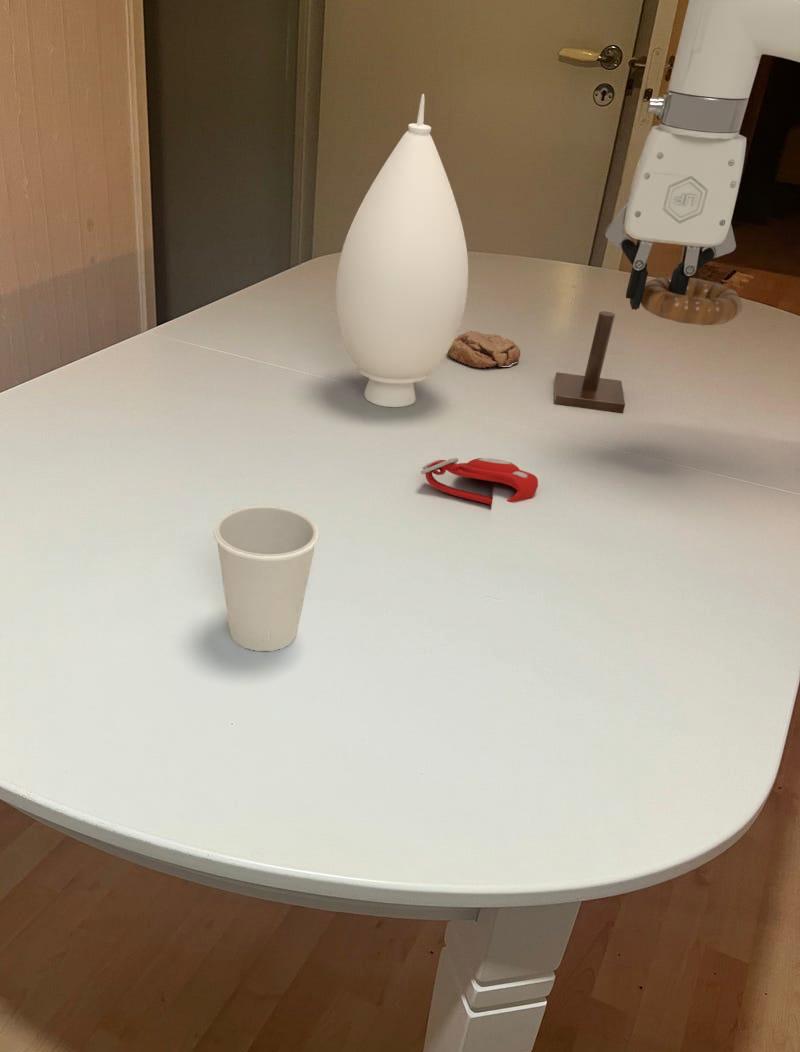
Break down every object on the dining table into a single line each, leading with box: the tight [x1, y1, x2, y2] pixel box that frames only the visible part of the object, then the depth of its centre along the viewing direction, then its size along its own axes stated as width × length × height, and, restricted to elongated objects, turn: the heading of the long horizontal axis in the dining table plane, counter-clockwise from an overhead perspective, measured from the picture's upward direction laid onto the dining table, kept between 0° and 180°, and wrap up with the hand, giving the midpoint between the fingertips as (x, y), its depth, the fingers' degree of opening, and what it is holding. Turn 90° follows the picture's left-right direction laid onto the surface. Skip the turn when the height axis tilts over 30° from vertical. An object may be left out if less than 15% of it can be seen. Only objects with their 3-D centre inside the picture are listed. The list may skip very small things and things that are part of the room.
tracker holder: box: [420, 457, 539, 505], centre depth 104 cm, size 12×4×10 cm
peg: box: [554, 310, 626, 414], centre depth 127 cm, size 9×9×11 cm
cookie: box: [447, 330, 522, 369], centre depth 140 cm, size 10×11×3 cm
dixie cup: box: [212, 504, 320, 652], centre depth 78 cm, size 8×8×10 cm
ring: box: [640, 276, 743, 326], centre depth 102 cm, size 10×10×3 cm
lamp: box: [335, 93, 469, 408], centre depth 116 cm, size 16×16×35 cm
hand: (651, 306), depth 103 cm, fingers closed on ring, 3 cm apart
